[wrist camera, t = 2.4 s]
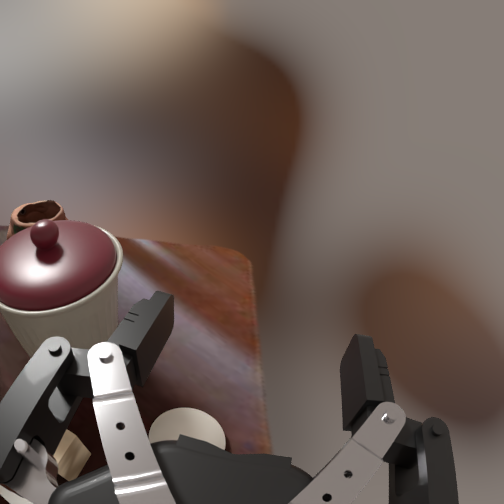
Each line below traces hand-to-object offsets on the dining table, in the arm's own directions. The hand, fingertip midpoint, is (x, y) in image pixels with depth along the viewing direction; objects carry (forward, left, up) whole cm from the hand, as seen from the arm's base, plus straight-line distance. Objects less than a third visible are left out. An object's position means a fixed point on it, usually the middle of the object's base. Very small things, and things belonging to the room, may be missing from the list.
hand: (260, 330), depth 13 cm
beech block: (-15, +9, -26) cm, 32 cm away
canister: (-9, +25, -26) cm, 37 cm away
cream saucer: (0, +6, -26) cm, 27 cm away
